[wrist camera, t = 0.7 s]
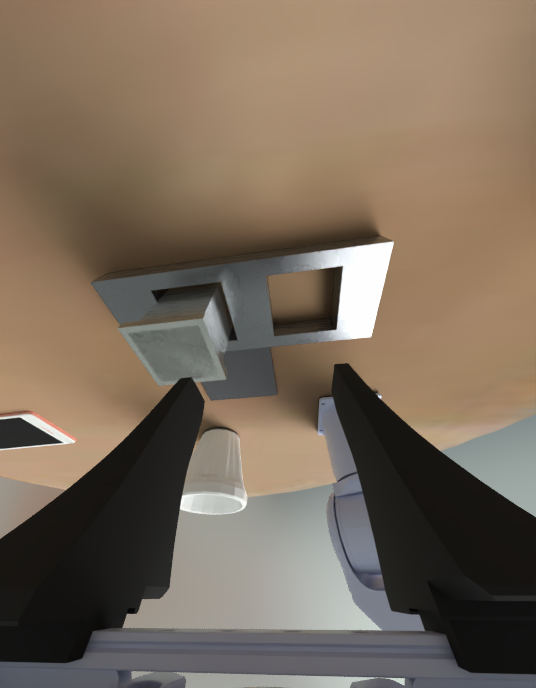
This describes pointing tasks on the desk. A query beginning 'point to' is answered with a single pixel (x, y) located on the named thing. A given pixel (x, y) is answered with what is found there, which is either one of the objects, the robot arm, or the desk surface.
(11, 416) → the cell phone
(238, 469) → the cup
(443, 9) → the desk surface
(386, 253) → the grey flat block
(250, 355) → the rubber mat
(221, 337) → the grey boxy piece
